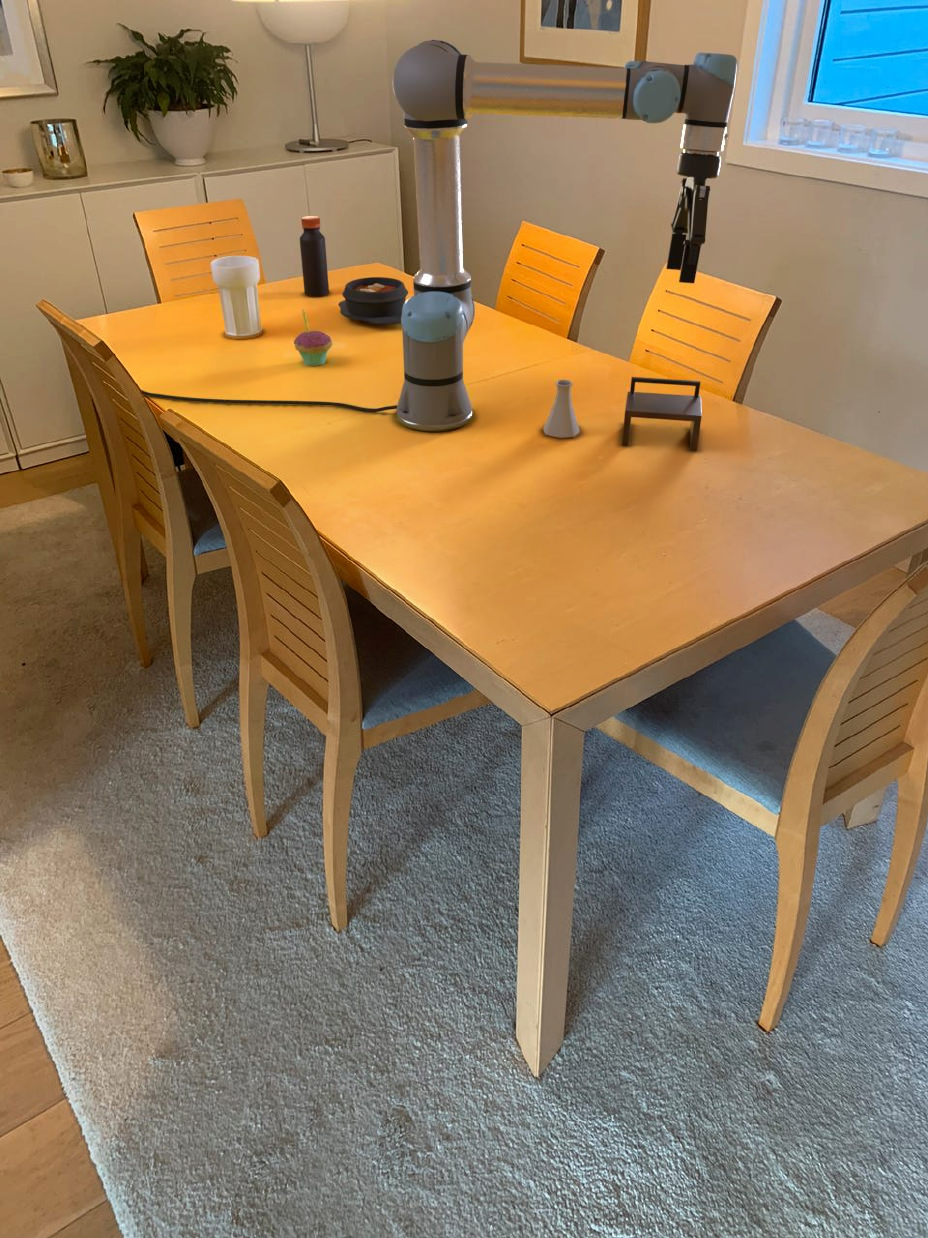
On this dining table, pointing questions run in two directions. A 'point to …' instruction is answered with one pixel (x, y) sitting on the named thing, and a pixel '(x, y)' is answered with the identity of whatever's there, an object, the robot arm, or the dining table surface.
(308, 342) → the cupcake
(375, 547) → the dining table surface
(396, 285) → the casserole
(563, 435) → the flask
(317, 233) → the bottle
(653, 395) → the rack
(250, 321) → the cup
